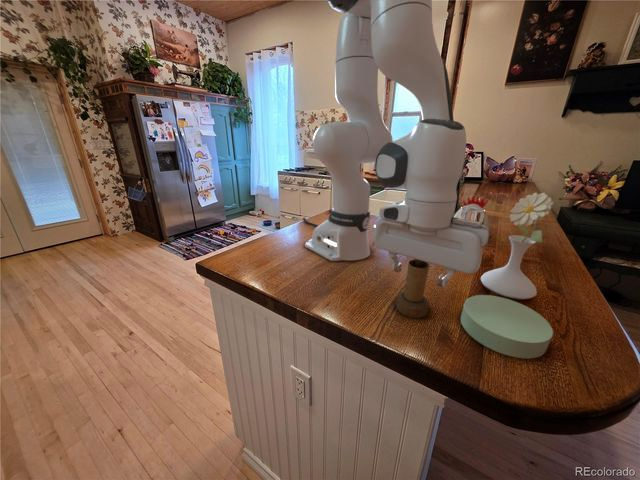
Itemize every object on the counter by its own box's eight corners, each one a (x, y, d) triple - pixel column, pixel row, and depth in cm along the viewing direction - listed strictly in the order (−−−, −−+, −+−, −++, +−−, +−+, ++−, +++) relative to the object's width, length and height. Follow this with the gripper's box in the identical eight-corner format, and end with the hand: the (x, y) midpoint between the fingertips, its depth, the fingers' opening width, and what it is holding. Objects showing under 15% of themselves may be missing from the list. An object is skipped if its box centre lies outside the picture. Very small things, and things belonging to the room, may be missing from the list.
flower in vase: (475, 275, 70) (500, 184, 61) (525, 283, 67) (559, 187, 57) (484, 301, 59) (516, 194, 50) (545, 313, 55) (591, 199, 46)
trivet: (452, 332, 50) (455, 317, 48) (469, 300, 59) (472, 287, 58) (545, 373, 41) (552, 356, 40) (547, 328, 51) (553, 313, 50)
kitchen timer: (487, 241, 94) (498, 201, 89) (446, 234, 101) (454, 196, 96) (487, 230, 106) (496, 194, 100) (450, 225, 112) (457, 190, 107)
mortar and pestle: (390, 308, 56) (400, 231, 50) (404, 296, 61) (415, 224, 54) (418, 322, 52) (434, 240, 45) (432, 309, 56) (448, 232, 50)
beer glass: (478, 259, 80) (490, 212, 75) (454, 257, 81) (464, 211, 76) (470, 250, 87) (481, 207, 81) (448, 248, 88) (457, 205, 82)
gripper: (495, 219, 44) (478, 289, 49) (386, 202, 57) (381, 259, 61) (488, 228, 39) (470, 303, 44) (372, 207, 52) (367, 268, 57)
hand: (417, 277), depth 53 cm, fingers open, 8 cm apart
